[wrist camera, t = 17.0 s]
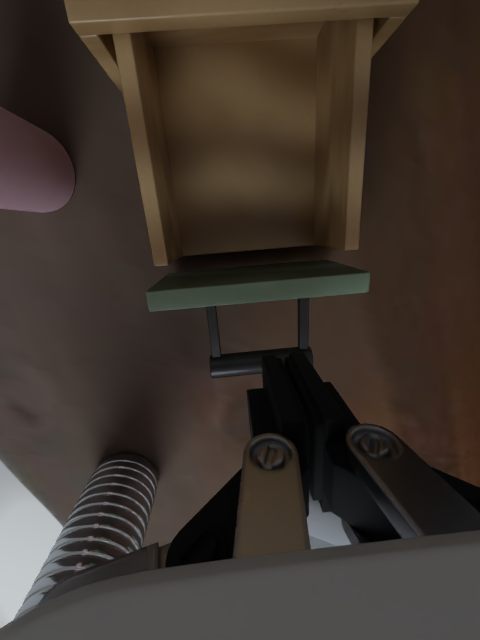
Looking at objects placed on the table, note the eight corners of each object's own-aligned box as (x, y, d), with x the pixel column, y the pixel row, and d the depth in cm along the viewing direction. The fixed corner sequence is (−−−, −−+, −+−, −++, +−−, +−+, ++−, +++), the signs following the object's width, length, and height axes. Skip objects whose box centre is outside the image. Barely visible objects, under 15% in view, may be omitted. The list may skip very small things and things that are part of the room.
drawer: (324, 336, 24) (362, 375, 17) (181, 349, 23) (165, 394, 17) (334, 32, 17) (401, -90, 10) (131, 44, 17) (72, -74, 10)
